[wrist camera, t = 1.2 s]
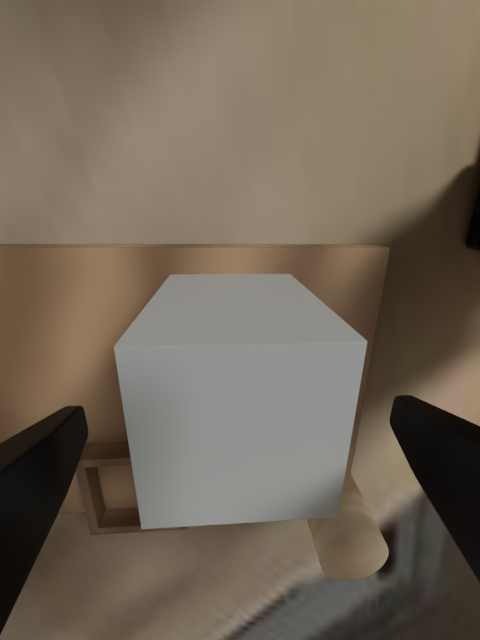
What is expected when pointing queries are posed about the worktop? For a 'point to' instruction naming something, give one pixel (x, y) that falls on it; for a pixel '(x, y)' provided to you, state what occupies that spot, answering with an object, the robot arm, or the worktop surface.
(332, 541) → the maple peg
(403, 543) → the worktop surface
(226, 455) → the block
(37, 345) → the board
